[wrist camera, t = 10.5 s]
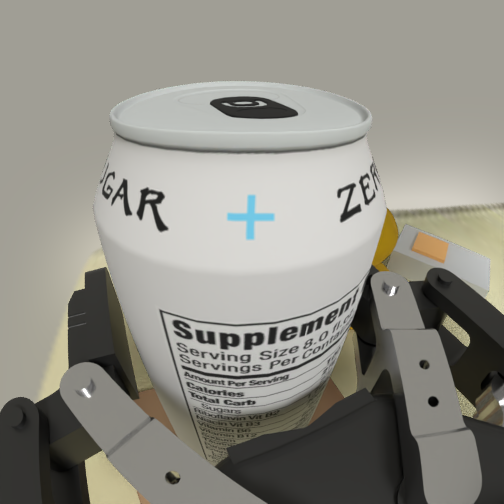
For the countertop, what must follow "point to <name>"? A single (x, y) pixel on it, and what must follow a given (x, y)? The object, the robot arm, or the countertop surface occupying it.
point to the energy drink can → (239, 248)
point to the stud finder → (438, 259)
